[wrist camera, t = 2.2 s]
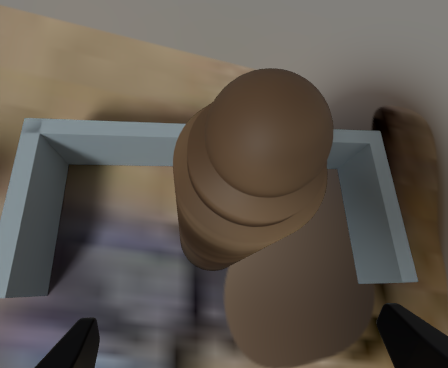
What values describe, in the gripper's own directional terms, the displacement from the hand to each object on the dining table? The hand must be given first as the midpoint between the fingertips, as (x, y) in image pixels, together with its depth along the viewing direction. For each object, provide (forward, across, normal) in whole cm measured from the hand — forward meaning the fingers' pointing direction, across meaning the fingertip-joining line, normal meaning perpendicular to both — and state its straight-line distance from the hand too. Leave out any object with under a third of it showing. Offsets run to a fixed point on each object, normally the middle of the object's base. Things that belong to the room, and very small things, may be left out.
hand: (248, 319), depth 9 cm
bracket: (+12, 0, +4) cm, 12 cm away
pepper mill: (+11, 0, +5) cm, 12 cm away
